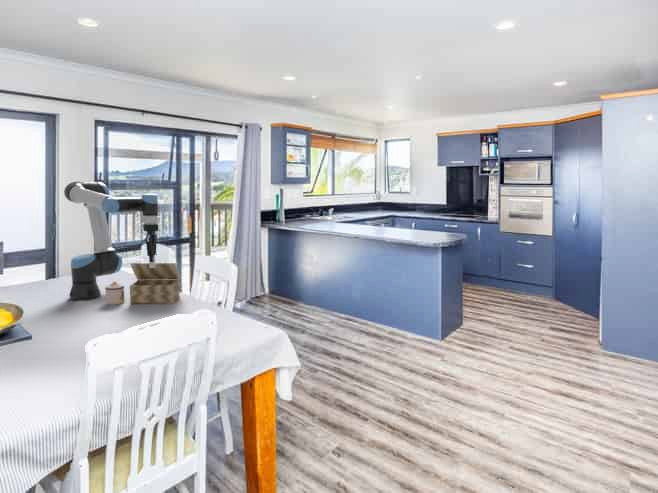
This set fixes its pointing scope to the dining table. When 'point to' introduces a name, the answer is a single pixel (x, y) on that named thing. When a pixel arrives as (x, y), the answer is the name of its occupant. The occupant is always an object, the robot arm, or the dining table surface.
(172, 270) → the lid flap
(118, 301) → the teacup with lid
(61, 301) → the dining table surface
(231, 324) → the dining table surface
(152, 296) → the wicker basket box
